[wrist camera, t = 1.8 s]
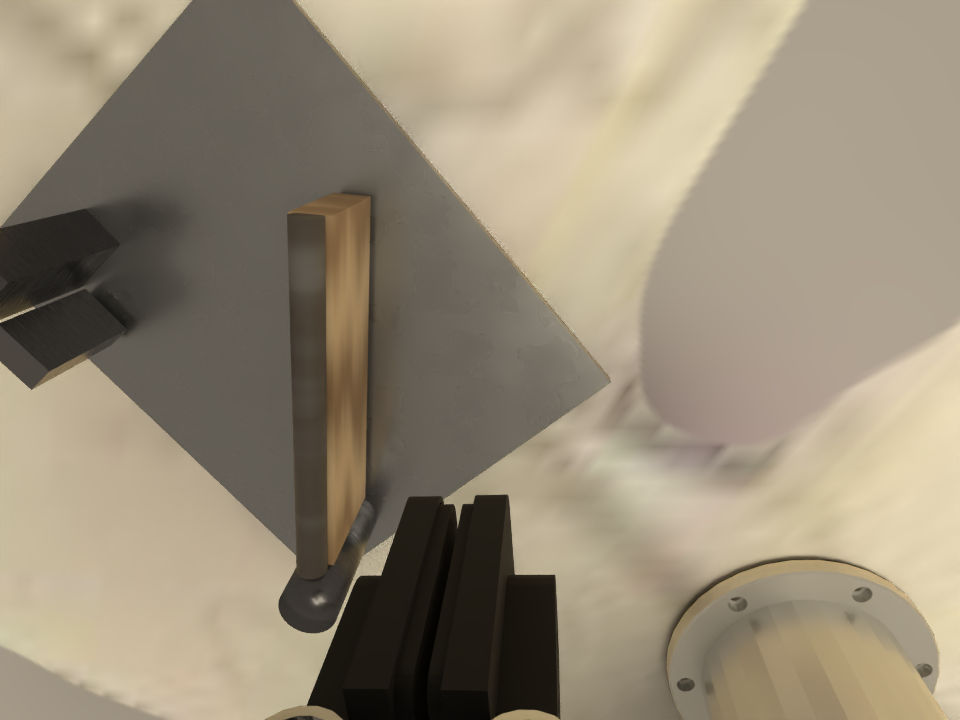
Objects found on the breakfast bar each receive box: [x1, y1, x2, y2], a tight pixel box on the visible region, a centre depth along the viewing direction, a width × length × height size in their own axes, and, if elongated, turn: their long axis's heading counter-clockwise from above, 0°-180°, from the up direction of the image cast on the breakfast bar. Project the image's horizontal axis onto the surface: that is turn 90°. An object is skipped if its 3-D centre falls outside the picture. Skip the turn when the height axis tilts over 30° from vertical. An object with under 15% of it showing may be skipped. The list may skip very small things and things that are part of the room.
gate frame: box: [0, 0, 611, 633], centre depth 27 cm, size 22×18×7 cm
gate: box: [287, 193, 371, 579], centre depth 26 cm, size 14×2×6 cm, turn 176°
